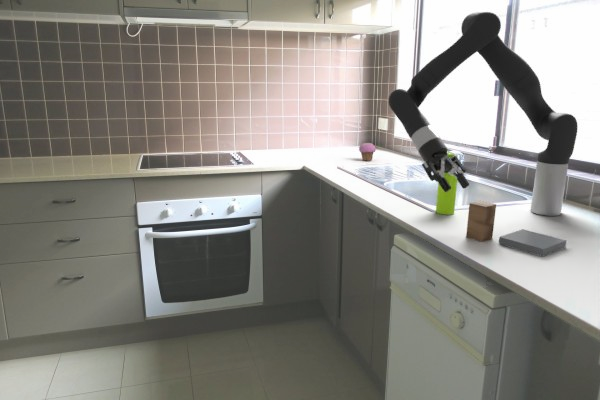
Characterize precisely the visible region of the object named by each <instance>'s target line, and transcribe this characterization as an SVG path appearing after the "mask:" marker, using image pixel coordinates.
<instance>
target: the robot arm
mask: <svg viewBox="0 0 600 400" xmlns="http://www.w3.org/2000/svg"><path fill="white" fill-rule="evenodd" d="M501 24H502V23H501V19H500V17H499V16H498V15H497V14H496V13H494V12H492V11H476V12H475V11H474V12H472V13H469V14H468V15H466V16H465V17H464V19H463V20H462V22H461V29H460V30H461V34H462V35H461V36H460V37H459V38H458V39H457V40H456V41H455V42H454V43H453V44H452V45H451V46H449V47H448V48H447V49H445V50H444V51H442V52H441V53H440V54H438V55H437V56H435V57H434V58H433V59H431V60H430V61H429V62H428V63H427V64H425V65H424V66H423V67H422V68H421V69H420V70H419V71H418V72H417V73H416V74H415V75H414V76H413V77H412V79H411V83H410V86H409V88H408V89H407V90H406V89H403V88H397V89H395V90H393V91H392V92H391V93H390V95H389V96H388V105H389V107H390V109H391V111H392V112H393V113H394V115H395V117H396V118H397V119H398V120H399V121H400V122H401V124H402V126H403V128H404V130H405V132H406V134H407V135H408V136H409V138H410V139H411V142H412V144H413V145H414V148H415V149H416V150H417V152H418V154H419V155H420V157H421V158H422V160H423V163H422V164H421V166H422V168H423V170H424V171H425V173H426V175H427V177H428V178H429V180H430V181H432V182H433V181H435V182H437V184H438V183H439V184H440V186H441V187H442V189H443V190H444V192H448V191H449V190H450V189H451V186H450V185H449V183H448V182H447V180H446V178H445V177H444V173H448V174H449V175H453V176H454V177H456V178H457V183H459V185H460V186H461V188H462V189H466V188H468V187H469V186H470V182H469V181H468V180H467V178H466V176H465V175H464V174H466V172H467V169H466V168H465V166H464V165H463V163H462V162H461V161H460V160H459V157H457V156H456V155H454V156H453V157H452V158H450V157H448V156H447V152H448V147H447V146H446V144H445V143H444V142H443V140H442V138H441V137H440V136H439V134H438V132H437V131H436V130H435V129H434V128H433V126H432V125H431V124H430V122H429V121H428V119H427V118H426V116H425V115H424V114H423V112H421V111H420V109H419V107H420V106H421V105H422V103H423V102H424V101H425V100H426V98H427V96H428V95H429V94H430V93H431V92H432V91H433V90H434V89H436V87H438V86H439V85H440V84H441V83H442V81H444V80H445V79H446V78H447V77H448V76H449V75H450V74H451V73H452V72H453V71H455V70H456V69H457V68H458V67H459V66H461V64H463V63H464V62H465V61H466V60H468V59H469V58H471V56H473V55H474V54H476V53H478V54H479V55H480V56H481V57H482V58H483V59H484V61H485V62H486V63H487V65H488V66H489V68H490V69H491V71H492V72H493V74H494V76H495V77H496V78H497V79H498V80H499V82H500V83H501V85H502V86H503V88H504V89H505V90H506V91H507V93H508V94H509V95H510V96H511V97H512V99H513V100H514V101H515V102H516V104H517V105H518V106H519V108H520V109H521V110H522V111H523V112H524V114H525V115H526V116H527V118H528V120H529V122H530V123H531V125H532V126H533V128H534V129H535V132H536V133H537V135H538V136H539V137H540V138H542V139H543V140H546V141H548V142H547V146H546V148H545V149H544V150H541V151H540V152H538V154H537V160H536V168H535V176H534V183H533V190H532V198H531V202H530V203H531V204H530V212H531V213H533V214H537V215H541V216H549V217H550V216H551V217H552V216H553V217H554V216H556V217H557V216H560V215H561V214H562V207H563V201H564V196H565V188H566V182H567V174H568V169H569V162H570V158H572V157H571V156H573V152H574V150H575V149H574V148H575V143H576V139H577V135H578V121H577V119H576V117H575V116H573V114H570V113H565V112H557V111H555V110H554V109H552V107H551V106H550V105H549V104H548V103H547V102H546V100H545V99H544V96H543V92H542V87H541V83H540V79H539V77H538V75H537V74H536V73H535V71H534V70H533V69H532V67H531V66H530V65H529V63H527V61H526V60H525V59H524V58H522V56H521V55H519V53H517V52H515V51H514V50H513V49H512V48H510V47H509V46H508V45H507V44H506V43H505V42H504V41H503V40H502V39H501V37H500V36H499V33H500V32H501V26H502V25H501ZM452 167H453V169H452ZM443 177H444V178H443Z"/></svg>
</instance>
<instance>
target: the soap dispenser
mask: <svg viewBox="0 0 600 400" xmlns="http://www.w3.org/2000/svg"><path fill="white" fill-rule="evenodd" d="M447 156H448V157H450V158H452V157H454V156H455V153H453V152H451V151H449V152H448V151H447ZM452 169H453V167H452ZM444 177H445V178H446V180H447V182H448V183H449V185H450V186H451V189H450V190H449V191H448V192H444V190H443V189H442V187H441V186H440V184H439V183H438V182H437V184H438V185H437V194H436V204H435V205H436V207H435V212H436V213H437V214H439V215H449V216H450V215H454V214H455V207H456V197H457V186H458V180H457V178H456V177H454V176H453V175H449V174H448V173H444ZM444 177H443V178H444Z"/></svg>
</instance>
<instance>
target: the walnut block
mask: <svg viewBox="0 0 600 400" xmlns="http://www.w3.org/2000/svg"><path fill="white" fill-rule="evenodd" d="M496 209H497V203H493V202H492V203H491V202H489V201H488V202H487V201H484V200H476V201H473V202H469V206H468V214H467V215H468V217H467V224H466V226H467V227H466V234H465V238H466V239H470V240H473V239H474V241H477V242H480V243H483V242H486V241H490V240H492V239H493V235H494V229H495V217H496V211H497V210H496Z"/></svg>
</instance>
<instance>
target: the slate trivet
mask: <svg viewBox="0 0 600 400" xmlns="http://www.w3.org/2000/svg"><path fill="white" fill-rule="evenodd" d="M498 238H499V239H498V244H499V245H503V246H506V247H509V248H512V249H514V250H519V251H522V252H525V253H529V254H532V255H535V256H539V257H545V256H548V255H551V254H553V253H555V252H557V251H560V250H562V249H564V248H566V244H567V240H566V239H562V238H559V237H554V236H552V235H548V234H542V233H540V232H539V233H538V232H536V231H531V230H528V229H523V228H522V229H519V230H516V231H512V232H510V233H507V234H504V235H501V236H499V237H498Z"/></svg>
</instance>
